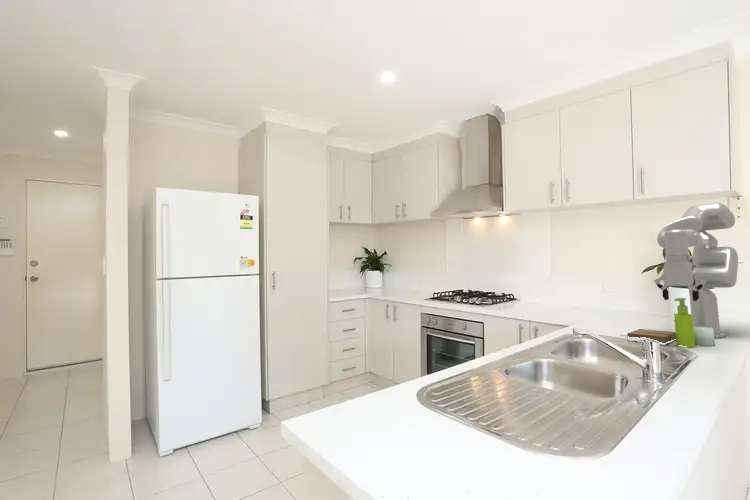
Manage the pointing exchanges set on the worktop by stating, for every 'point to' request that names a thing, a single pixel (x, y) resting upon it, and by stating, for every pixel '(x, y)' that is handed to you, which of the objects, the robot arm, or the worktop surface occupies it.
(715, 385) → the worktop surface
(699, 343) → the pale green rounded block
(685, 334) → the soap dispenser
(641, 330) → the walnut plinth
